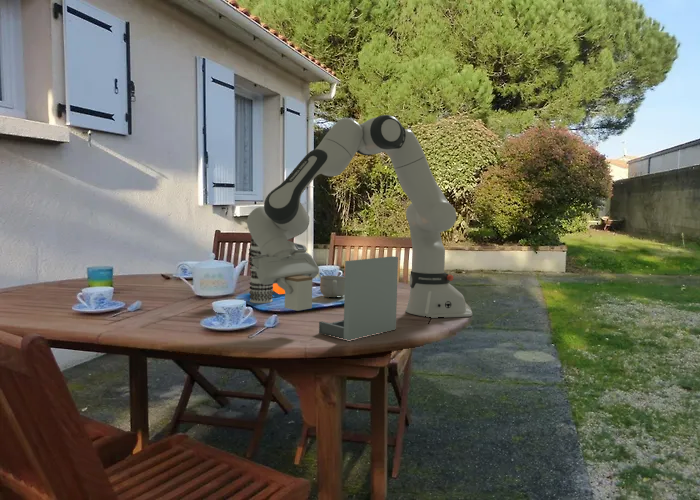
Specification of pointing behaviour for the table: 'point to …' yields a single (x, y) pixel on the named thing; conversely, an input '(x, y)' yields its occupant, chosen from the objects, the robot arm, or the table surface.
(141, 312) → the table surface
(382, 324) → the wall board
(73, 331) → the table surface
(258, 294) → the decorative candle
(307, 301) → the grey tea canister
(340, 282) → the teacup
